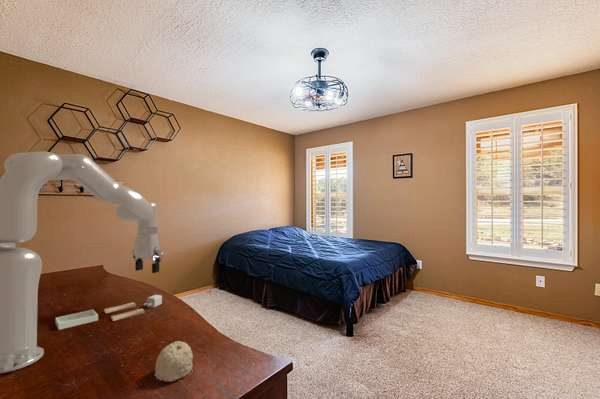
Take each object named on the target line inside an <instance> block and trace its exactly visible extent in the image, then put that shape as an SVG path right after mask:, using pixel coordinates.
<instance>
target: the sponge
mask: <svg viewBox="0 0 600 399" xmlns="http://www.w3.org/2000/svg"><path fill="white" fill-rule="evenodd" d="M193 355H194V354H193V351H192V347H191V346H190V345H189V344H188V343H186V342H184V341H180V340H177V341H174V342H172V343H170V344H168V345H167V346H165V347H163V349H162V350H161V351H160V353H159V354H158V356H157V359H156V362H155V369H154V370H155V372H154V376H156V378H157V379H160V380H165V381H167V380H168V381H172V380H174V379H178V378H180V377H181V376H185V375H186V374H188V373H189V372H190V371H191V370H192V371H193V369H192V367H194V366H193V365H194V364H193V358H194V356H193ZM157 379H156V380H157Z"/></svg>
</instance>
